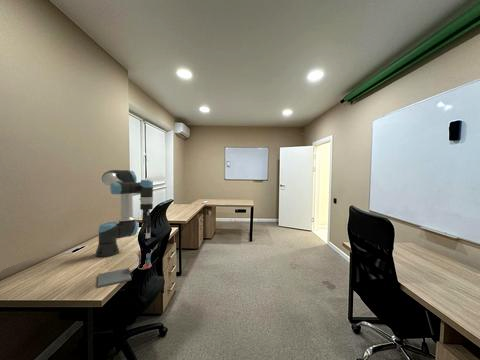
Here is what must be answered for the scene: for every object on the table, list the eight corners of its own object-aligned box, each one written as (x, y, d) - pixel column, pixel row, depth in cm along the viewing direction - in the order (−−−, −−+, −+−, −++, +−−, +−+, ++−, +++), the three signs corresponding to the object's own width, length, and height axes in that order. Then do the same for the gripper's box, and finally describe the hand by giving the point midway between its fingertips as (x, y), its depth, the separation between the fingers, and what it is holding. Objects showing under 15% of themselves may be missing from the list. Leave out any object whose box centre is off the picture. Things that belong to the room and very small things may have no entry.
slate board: (98, 275, 126) (98, 273, 126) (128, 269, 134) (128, 268, 134) (97, 287, 112) (97, 285, 112) (131, 280, 121) (131, 278, 121)
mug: (146, 271, 132) (147, 254, 132) (133, 270, 134) (133, 253, 134) (157, 263, 144) (157, 248, 144) (144, 262, 146) (145, 247, 145)
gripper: (137, 201, 147) (137, 231, 147) (143, 205, 126) (142, 241, 126) (149, 201, 151) (148, 230, 151) (156, 205, 130) (156, 239, 130)
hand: (146, 235), depth 139 cm, fingers open, 13 cm apart
